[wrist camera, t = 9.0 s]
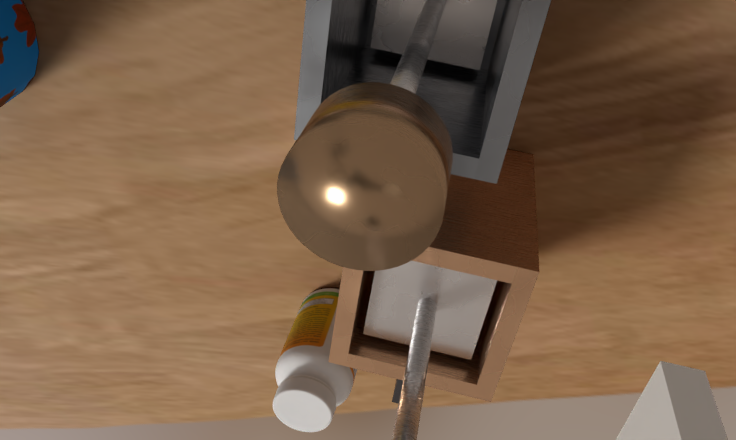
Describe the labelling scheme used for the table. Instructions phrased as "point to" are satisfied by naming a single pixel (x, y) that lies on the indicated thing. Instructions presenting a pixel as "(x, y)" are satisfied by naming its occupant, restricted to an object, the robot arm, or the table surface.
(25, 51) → the thermos
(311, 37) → the grey box
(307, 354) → the supplement bottle
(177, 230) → the table surface
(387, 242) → the tan and silver rod
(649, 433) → the robot arm
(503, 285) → the light wood box
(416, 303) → the grey capped rod
